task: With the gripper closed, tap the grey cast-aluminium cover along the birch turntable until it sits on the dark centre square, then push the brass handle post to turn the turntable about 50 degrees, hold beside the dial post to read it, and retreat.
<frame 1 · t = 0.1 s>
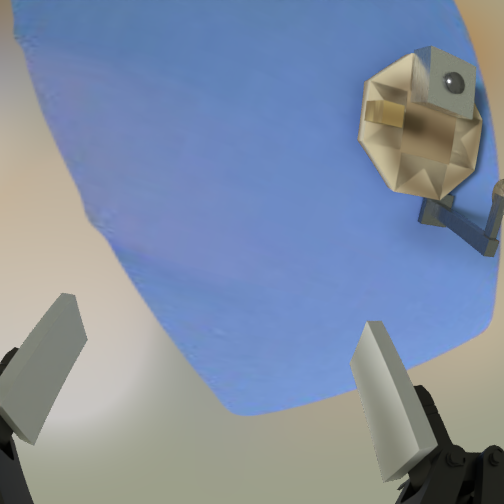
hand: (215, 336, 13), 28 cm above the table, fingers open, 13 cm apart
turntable: (436, 129, 29), point 5 cm above the table, hinge at 0.0°, touching cover
cover: (435, 83, 27), point 4 cm above the table, touching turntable
dial post: (434, 207, 39), on the table
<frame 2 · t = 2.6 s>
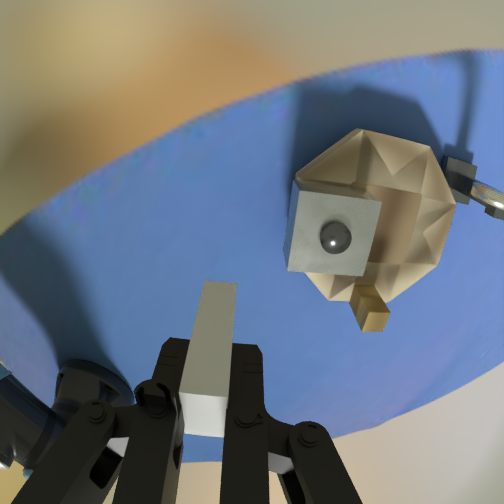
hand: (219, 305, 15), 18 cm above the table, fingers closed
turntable: (386, 233, 27), point 5 cm above the table, hinge at 0.0°, touching cover
cover: (324, 219, 28), point 4 cm above the table, touching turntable
dial post: (454, 179, 29), on the table
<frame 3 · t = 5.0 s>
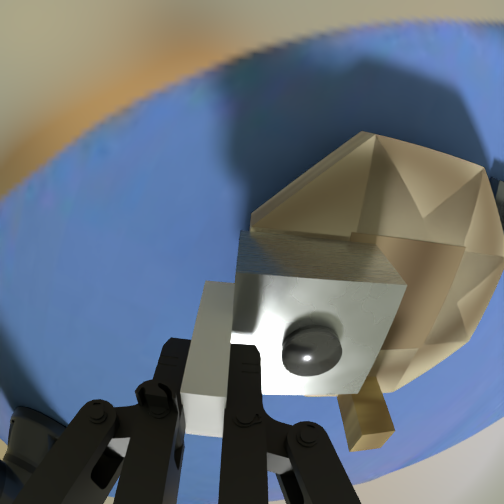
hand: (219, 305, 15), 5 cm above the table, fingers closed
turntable: (404, 317, 15), point 5 cm above the table, hinge at 0.0°, touching cover
cover: (299, 296, 16), point 4 cm above the table, touching gripper, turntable
dial post: (502, 212, 18), on the table
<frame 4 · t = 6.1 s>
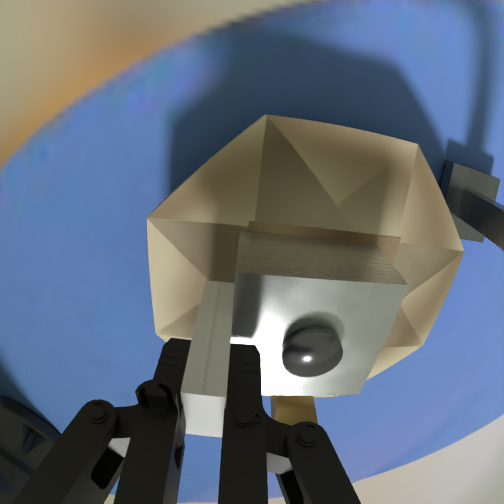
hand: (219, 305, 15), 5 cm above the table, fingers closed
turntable: (320, 315, 15), point 5 cm above the table, hinge at -0.2°, touching cover
cover: (299, 296, 16), point 4 cm above the table, touching gripper, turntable
dial post: (463, 201, 17), on the table
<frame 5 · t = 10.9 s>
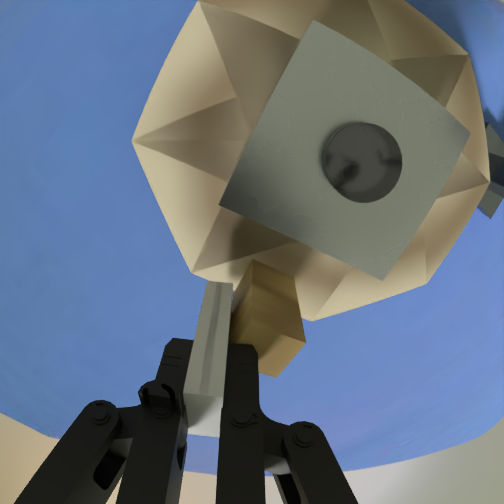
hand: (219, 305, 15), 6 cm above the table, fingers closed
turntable: (349, 157, 12), point 5 cm above the table, hinge at 4.2°, touching cover, gripper
cover: (332, 144, 13), point 4 cm above the table, touching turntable
dial post: (483, 169, 16), on the table
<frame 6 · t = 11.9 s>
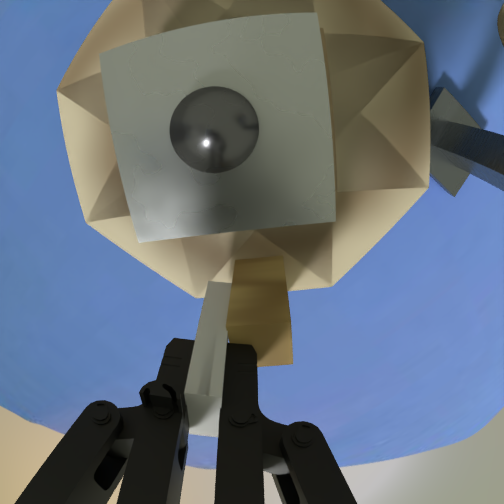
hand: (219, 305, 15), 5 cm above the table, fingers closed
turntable: (239, 123, 11), point 5 cm above the table, hinge at 36.9°, touching cover, gripper
cover: (228, 120, 12), point 4 cm above the table, touching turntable
dial post: (443, 140, 15), on the table
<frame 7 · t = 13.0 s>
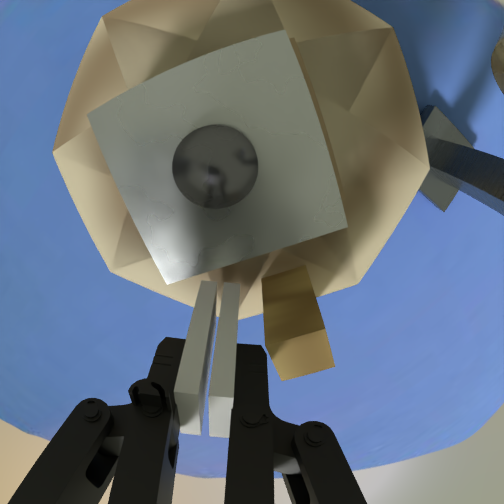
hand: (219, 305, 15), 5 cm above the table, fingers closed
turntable: (236, 151, 12), point 5 cm above the table, hinge at 49.4°, touching cover
cover: (226, 148, 13), point 4 cm above the table, touching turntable
dial post: (434, 157, 16), on the table
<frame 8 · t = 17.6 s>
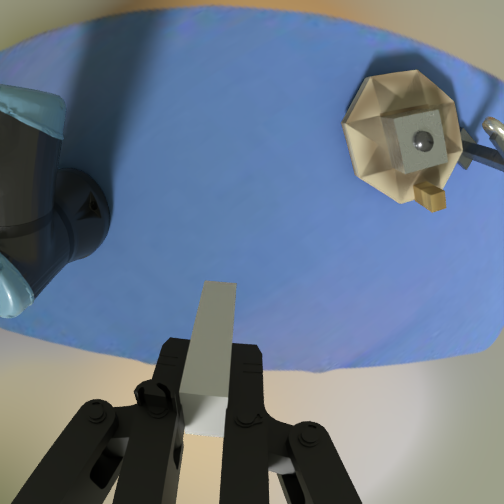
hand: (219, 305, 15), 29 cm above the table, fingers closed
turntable: (416, 138, 33), point 5 cm above the table, hinge at 49.4°, touching cover
cover: (408, 137, 34), point 4 cm above the table, touching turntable
dial post: (461, 148, 38), on the table
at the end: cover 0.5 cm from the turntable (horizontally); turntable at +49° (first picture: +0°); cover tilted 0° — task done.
